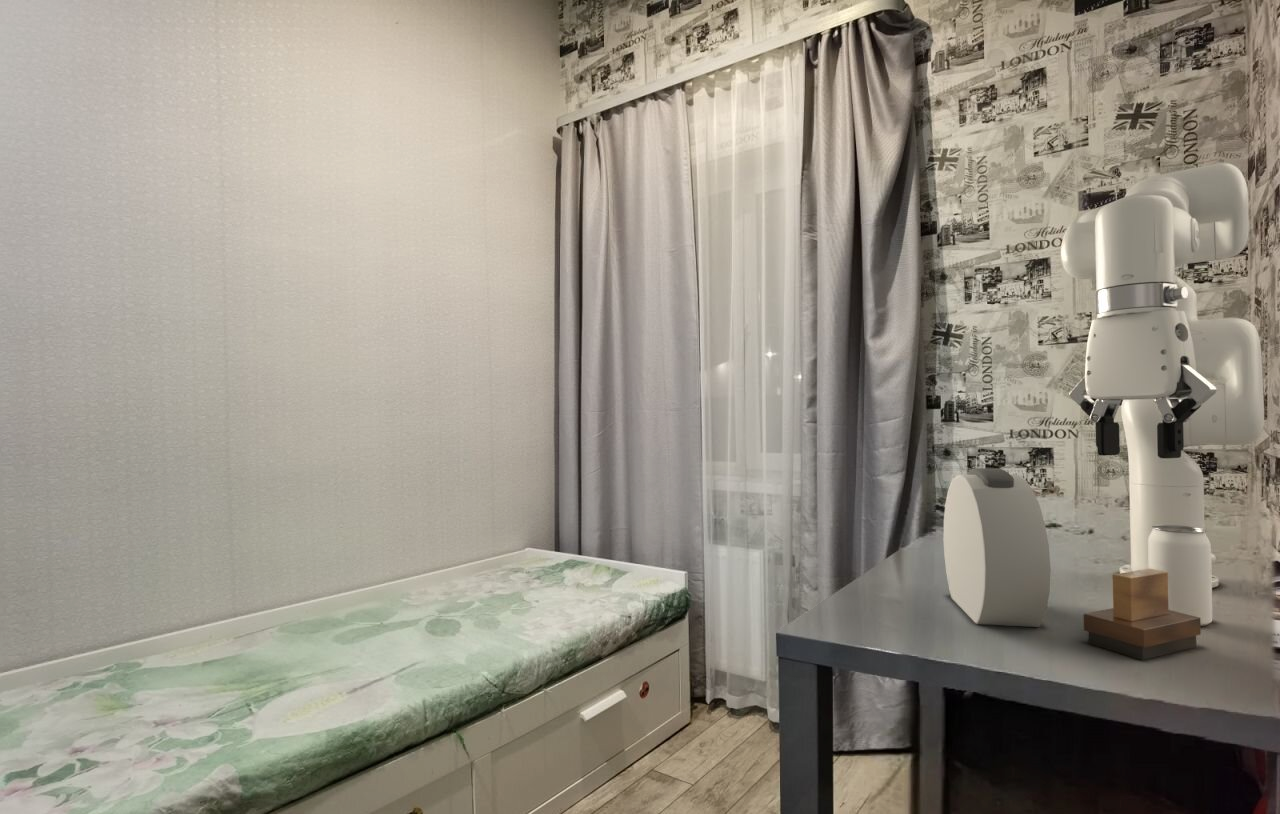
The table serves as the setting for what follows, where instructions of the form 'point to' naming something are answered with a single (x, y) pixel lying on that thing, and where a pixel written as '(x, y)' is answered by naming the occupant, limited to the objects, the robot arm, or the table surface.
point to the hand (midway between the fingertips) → (1137, 454)
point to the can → (1184, 568)
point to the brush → (1141, 618)
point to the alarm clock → (996, 549)
